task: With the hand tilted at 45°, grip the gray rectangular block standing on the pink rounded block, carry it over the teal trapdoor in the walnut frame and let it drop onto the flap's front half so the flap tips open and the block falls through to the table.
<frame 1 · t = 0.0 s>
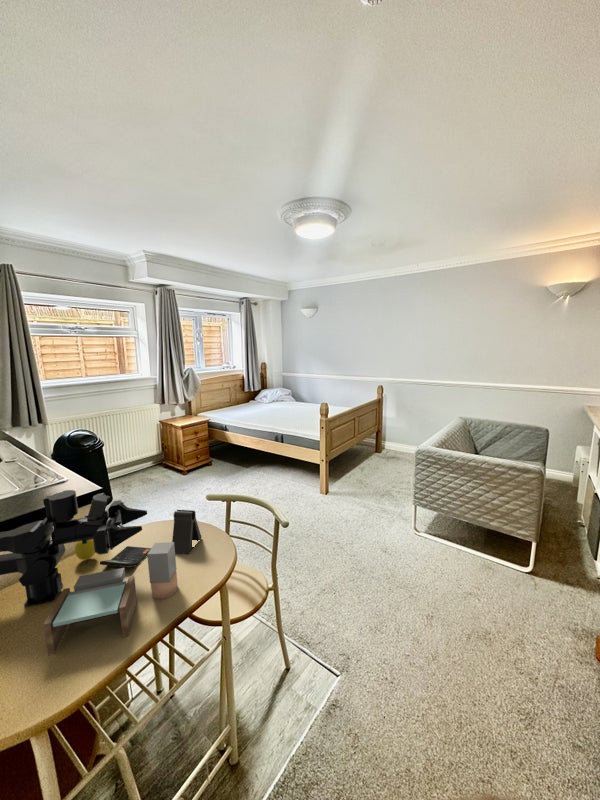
hand: (144, 520, 92), 17 cm above the table, tool horizontal, fingers open, 9 cm apart
lemon: (87, 560, 102), on the table
calculator: (128, 561, 102), on the table
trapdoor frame: (95, 628, 76), on the table
gray rectangular block: (163, 576, 88), point 4 cm above the table, touching pink rounded block
trapdoor: (95, 594, 77), point 7 cm above the table, hinge at 0.0°
pink rounded block: (164, 590, 88), on the table
dark folding easel stand: (187, 546, 109), on the table
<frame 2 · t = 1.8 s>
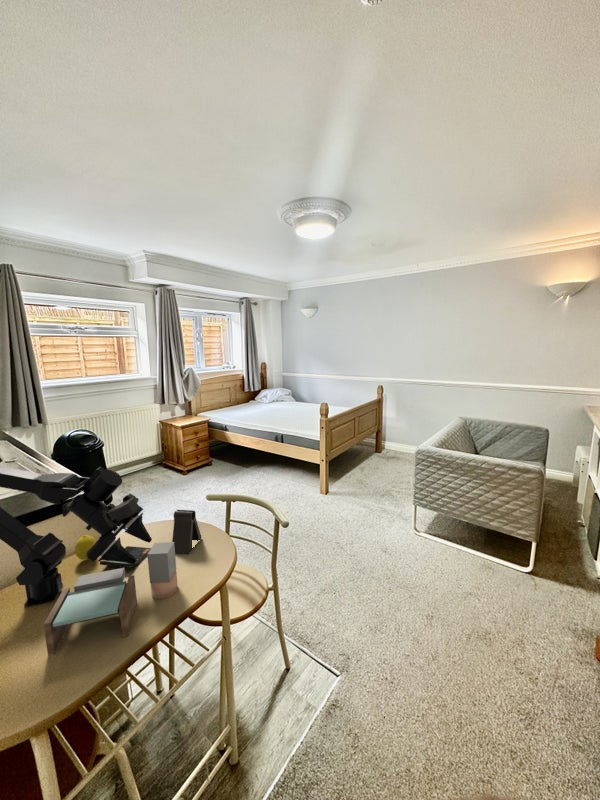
hand: (143, 551, 86), 11 cm above the table, tool tilted 45°, fingers open, 9 cm apart
nothing on the table moved.
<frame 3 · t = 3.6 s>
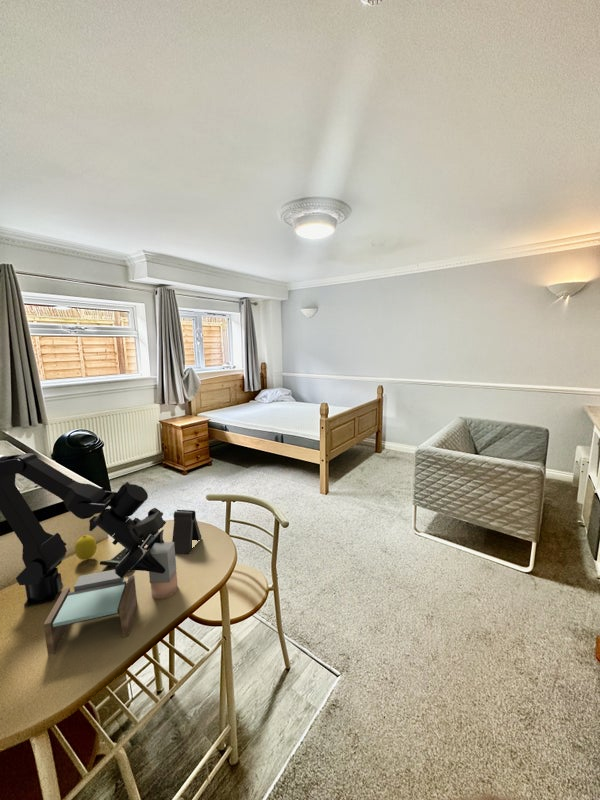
hand: (168, 565, 87), 7 cm above the table, tool tilted 45°, fingers closed on gray rectangular block, 5 cm apart
gray rectangular block: (163, 576, 88), point 4 cm above the table, touching gripper, pink rounded block
everything else where it was.
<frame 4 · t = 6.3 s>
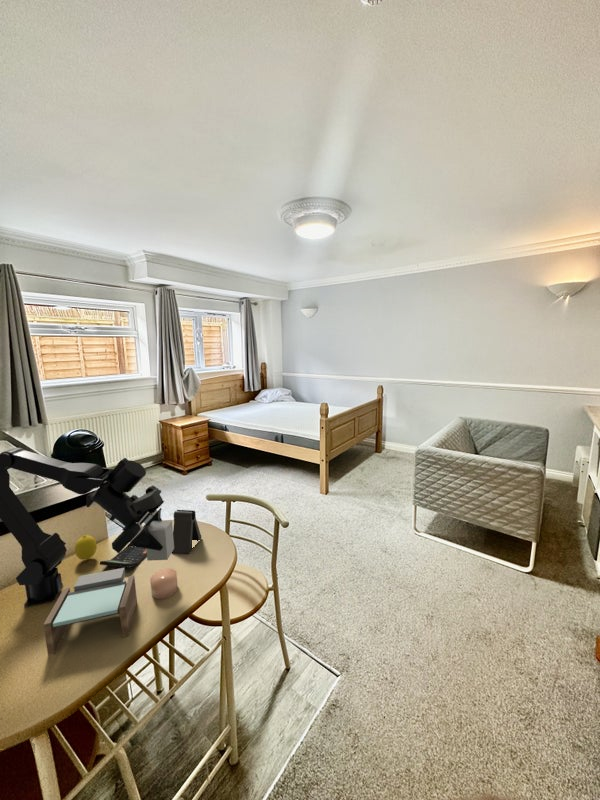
hand: (165, 543, 86), 13 cm above the table, tool tilted 45°, fingers closed on gray rectangular block, 5 cm apart
gray rectangular block: (161, 554, 87), point 10 cm above the table, touching gripper
everything else where it was.
when the fingers open (13 cm above the table, at t = 9.3 s): gray rectangular block drops 4 cm, resting on trapdoor.
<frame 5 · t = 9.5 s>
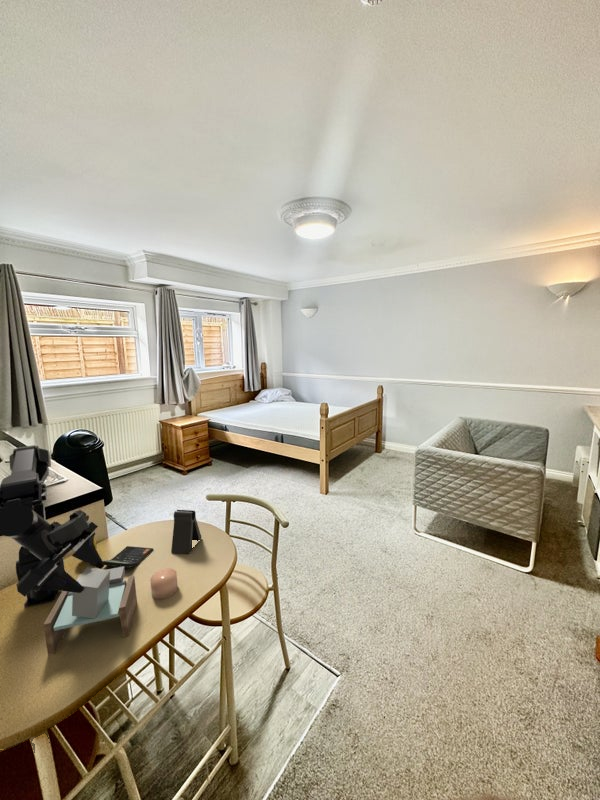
hand: (93, 578, 73), 14 cm above the table, tool tilted 45°, fingers open, 7 cm apart
gray rectangular block: (90, 607, 74), point 7 cm above the table, tilted 13°, touching trapdoor
trapdoor: (95, 595, 77), point 7 cm above the table, hinge at -6.2°, touching gray rectangular block
everything else where it was.
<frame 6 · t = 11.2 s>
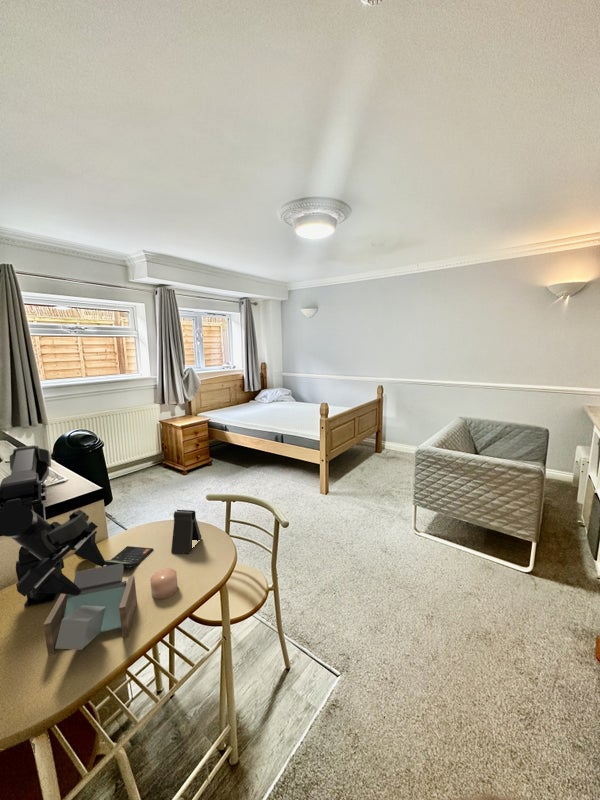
hand: (92, 578, 73), 14 cm above the table, tool tilted 45°, fingers open, 9 cm apart
gray rectangular block: (91, 618, 74), point 4 cm above the table, tilted 69°, touching trapdoor
trapdoor: (95, 599, 78), point 6 cm above the table, hinge at -36.4°, touching gray rectangular block
everything else where it was.
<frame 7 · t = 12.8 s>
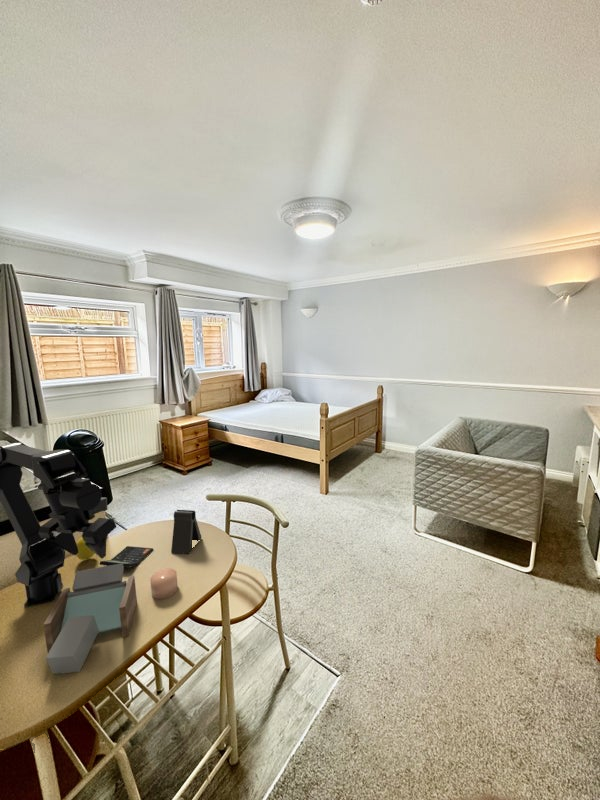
hand: (89, 555, 84), 12 cm above the table, tool pointing down, fingers open, 9 cm apart
gray rectangular block: (84, 623, 72), point 4 cm above the table, tilted 105°, touching trapdoor
trapdoor: (95, 599, 78), point 6 cm above the table, hinge at -35.9°, touching gray rectangular block
everything else where it was.
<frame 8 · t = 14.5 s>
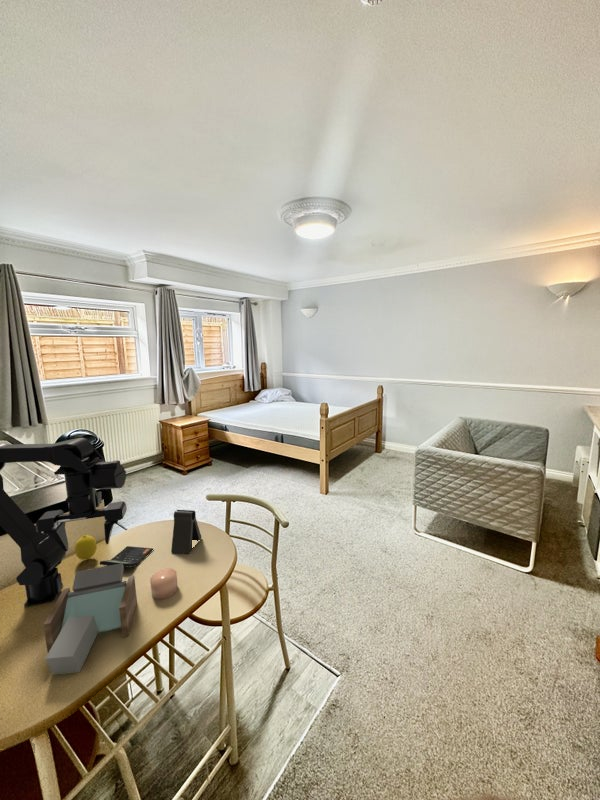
hand: (87, 547, 86), 13 cm above the table, tool pointing down, fingers open, 9 cm apart
trapdoor: (95, 599, 78), point 6 cm above the table, hinge at -36.3°, touching gray rectangular block
everything else where it was.
at the end: gray rectangular block inside the target area (1.3 cm from its centre), point 4.4 cm above the table; the gripper is holding nothing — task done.
